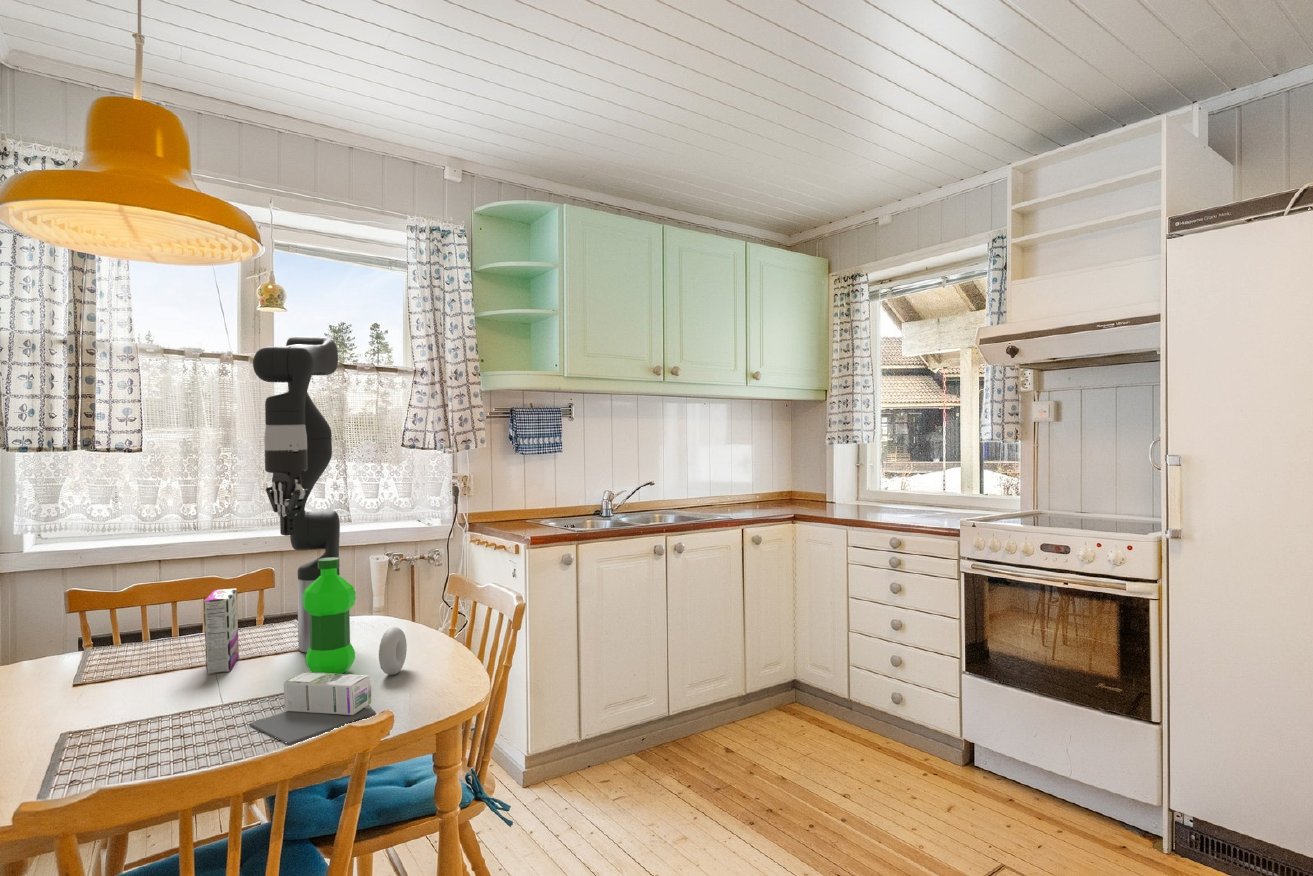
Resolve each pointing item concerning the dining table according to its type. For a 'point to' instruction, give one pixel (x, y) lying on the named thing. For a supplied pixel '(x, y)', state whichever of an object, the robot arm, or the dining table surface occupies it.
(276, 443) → the robot arm
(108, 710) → the dining table surface
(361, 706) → the syrup box
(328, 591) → the plastic bottle
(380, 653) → the donut
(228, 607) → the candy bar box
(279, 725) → the mat
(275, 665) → the dining table surface
